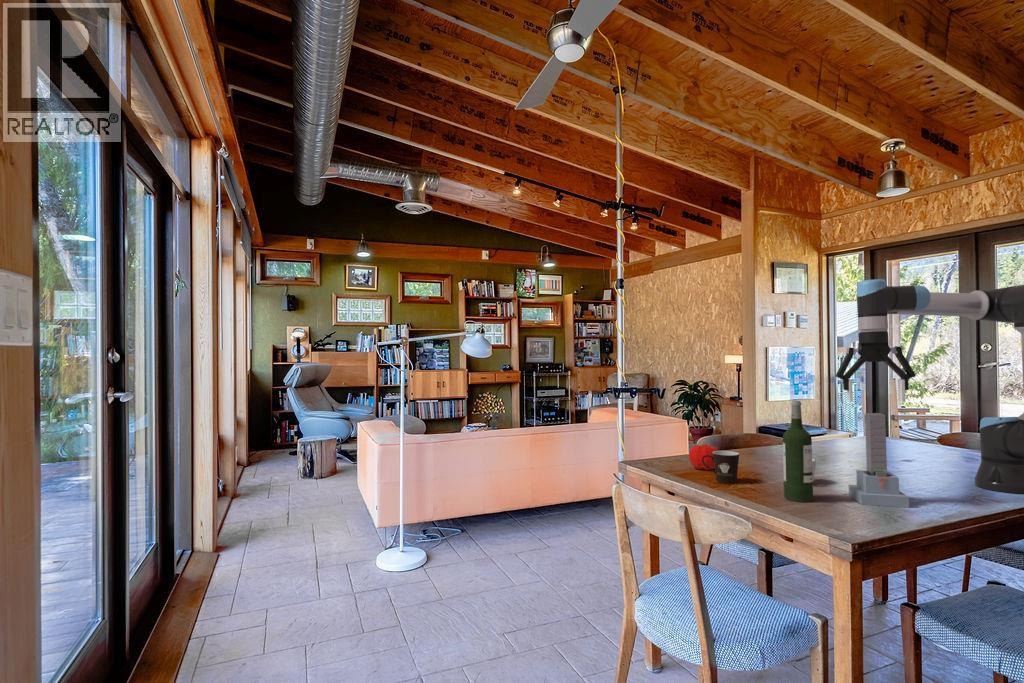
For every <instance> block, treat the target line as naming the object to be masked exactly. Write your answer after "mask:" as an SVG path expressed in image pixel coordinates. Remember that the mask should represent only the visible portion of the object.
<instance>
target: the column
mask: <svg viewBox="0 0 1024 683" xmlns="http://www.w3.org/2000/svg"><path fill="white" fill-rule="evenodd" d="M864 415H865V420H864V421H865V450H866V451H865V452H866V454H865V455H866V471H867V475H869V476H876V472H886V476H887V471H888V467H887V466H888V459H887V432H886V431H887V430H886V414H884V413H880V412H879V413H877V412H874V413H873V412H872V413H871V412H865V413H864Z"/></svg>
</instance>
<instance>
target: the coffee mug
mask: <svg viewBox="0 0 1024 683" xmlns="http://www.w3.org/2000/svg"><path fill="white" fill-rule="evenodd" d="M705 457H710V458H711V459H712V460H713V462H714V466H715V468H714V469H711V468H710V467H708V466H707V465H706V464H705V463H704V458H705ZM739 460H740V453H739V452H736V451H731V450H719V451H714V452H713V457H712V456H710V455H705V456H703V458H702V462H703V464H704V465H705V466H706V467H707V468H708V469H710V470H709V471H710V472H713V473H714V474H715V478H716V482H717V483H719V484H721V485H722V484H725V485H735V484H737V483H738V482H737V480H738V470H739ZM734 483H735V484H734Z"/></svg>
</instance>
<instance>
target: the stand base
mask: <svg viewBox="0 0 1024 683" xmlns="http://www.w3.org/2000/svg"><path fill="white" fill-rule="evenodd" d="M855 475H856V484H848V485H847V487H848V495H849V496H850V497H851V498H852V499H854V500H855V501H857V503H858V504H860V505H863V506H877V507H880V506H881V507H895V508H910V496H909V495H907V494H905V493H903V492H902V491H901V490H900V480H899V478H900V477H898V476H897V475H895V474H893V473H891V472H889V471H888V470H887V476H886V472H876V476H869V475H867V470H865V469H864V470H862V469H861V470H860V469H856V474H855Z"/></svg>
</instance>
